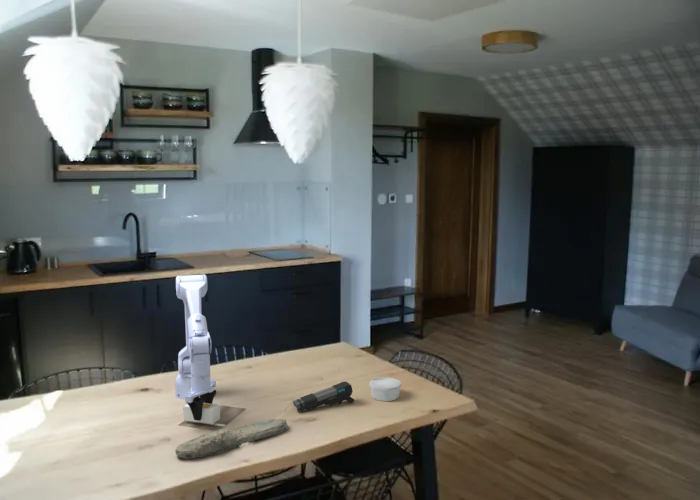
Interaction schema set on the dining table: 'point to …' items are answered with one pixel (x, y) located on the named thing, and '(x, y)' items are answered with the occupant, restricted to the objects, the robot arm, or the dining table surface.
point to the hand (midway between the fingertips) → (201, 416)
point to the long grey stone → (229, 438)
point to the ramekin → (385, 389)
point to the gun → (325, 397)
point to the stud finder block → (204, 413)
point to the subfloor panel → (225, 417)
